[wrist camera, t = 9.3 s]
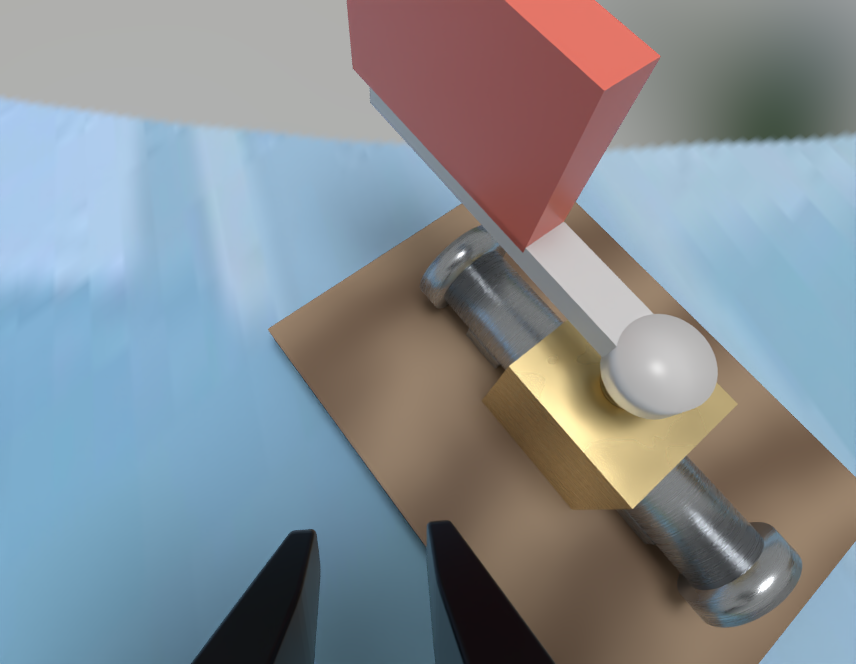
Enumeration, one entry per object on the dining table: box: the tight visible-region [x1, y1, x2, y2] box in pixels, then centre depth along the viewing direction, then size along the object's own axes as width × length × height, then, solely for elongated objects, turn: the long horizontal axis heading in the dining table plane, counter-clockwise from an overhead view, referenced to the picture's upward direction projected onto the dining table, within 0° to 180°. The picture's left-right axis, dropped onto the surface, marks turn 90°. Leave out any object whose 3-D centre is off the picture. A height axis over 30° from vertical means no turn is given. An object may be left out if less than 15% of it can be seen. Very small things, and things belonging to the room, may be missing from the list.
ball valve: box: [420, 225, 802, 628], centre depth 18 cm, size 16×5×6 cm, turn 39°
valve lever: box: [347, 0, 718, 420], centre depth 13 cm, size 15×3×7 cm, turn 38°
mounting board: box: [268, 202, 856, 664], centre depth 21 cm, size 22×16×2 cm
